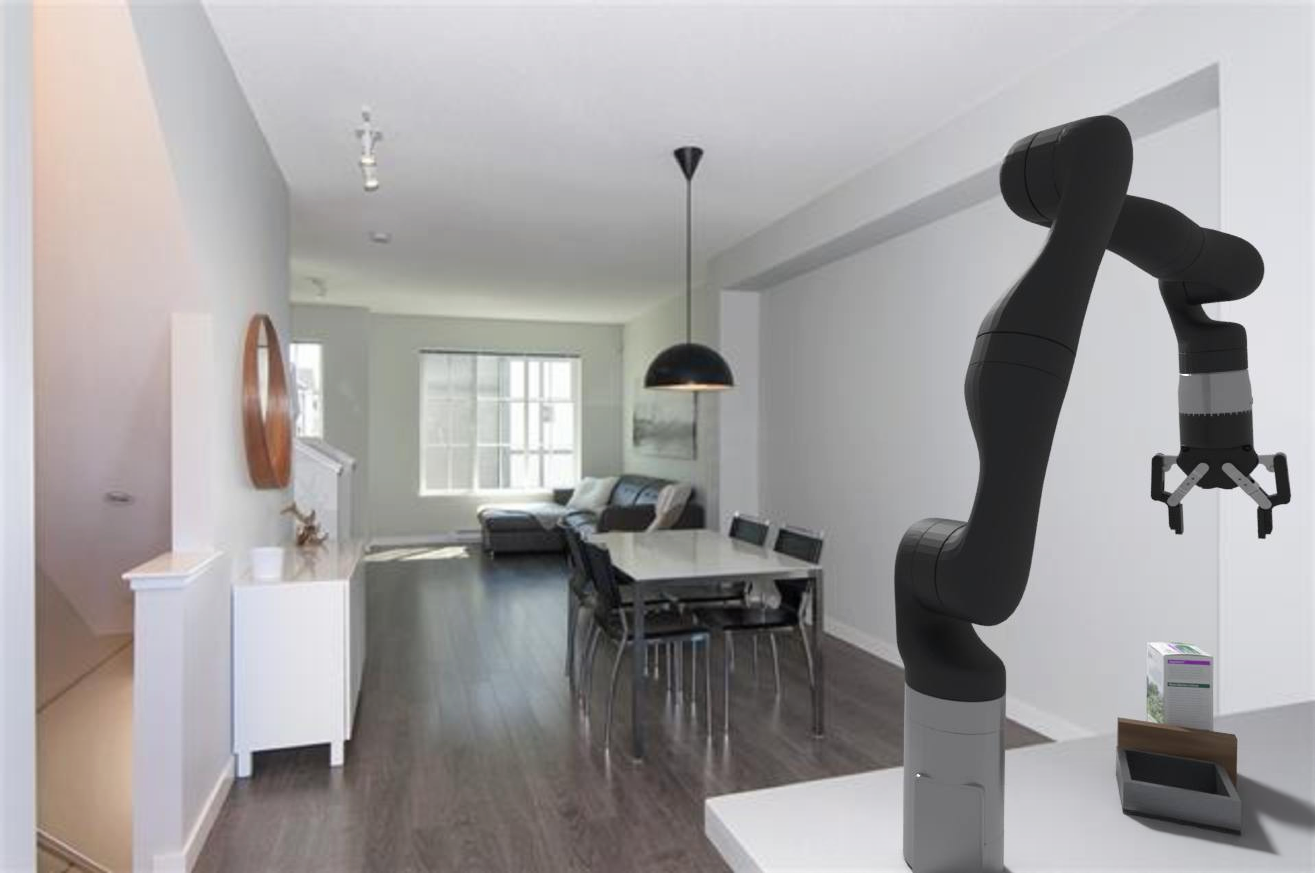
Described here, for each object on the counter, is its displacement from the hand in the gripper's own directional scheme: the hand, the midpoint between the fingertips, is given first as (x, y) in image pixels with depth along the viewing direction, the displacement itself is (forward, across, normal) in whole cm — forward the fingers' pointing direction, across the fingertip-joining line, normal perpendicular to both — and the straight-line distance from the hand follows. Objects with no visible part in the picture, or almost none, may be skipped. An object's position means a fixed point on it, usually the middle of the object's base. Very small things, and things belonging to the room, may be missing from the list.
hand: (1219, 535), depth 100 cm
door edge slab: (+27, -4, -12) cm, 30 cm away
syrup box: (+28, -5, -7) cm, 29 cm away
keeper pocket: (+26, -4, -20) cm, 33 cm away
